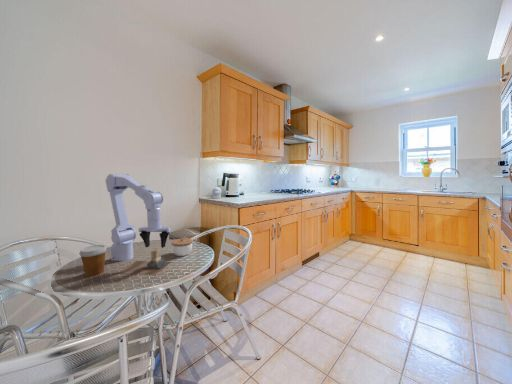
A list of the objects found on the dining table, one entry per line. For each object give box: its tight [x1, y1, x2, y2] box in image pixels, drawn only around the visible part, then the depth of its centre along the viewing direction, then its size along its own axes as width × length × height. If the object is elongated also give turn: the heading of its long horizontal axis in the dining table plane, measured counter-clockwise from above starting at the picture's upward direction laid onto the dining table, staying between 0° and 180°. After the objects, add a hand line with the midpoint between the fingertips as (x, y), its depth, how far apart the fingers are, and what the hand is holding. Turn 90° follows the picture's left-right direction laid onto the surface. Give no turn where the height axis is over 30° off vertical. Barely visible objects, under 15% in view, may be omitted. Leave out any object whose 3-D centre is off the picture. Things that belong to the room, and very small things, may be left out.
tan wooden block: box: [150, 247, 162, 263], centre depth 101 cm, size 2×4×7 cm, turn 176°
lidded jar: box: [171, 237, 193, 257], centre depth 117 cm, size 11×11×9 cm
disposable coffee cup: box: [78, 244, 108, 278], centre depth 94 cm, size 10×10×12 cm
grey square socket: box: [145, 257, 168, 269], centre depth 101 cm, size 7×7×3 cm
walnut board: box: [116, 260, 172, 276], centre depth 100 cm, size 18×14×1 cm
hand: (155, 246), depth 101 cm, fingers open, 7 cm apart
